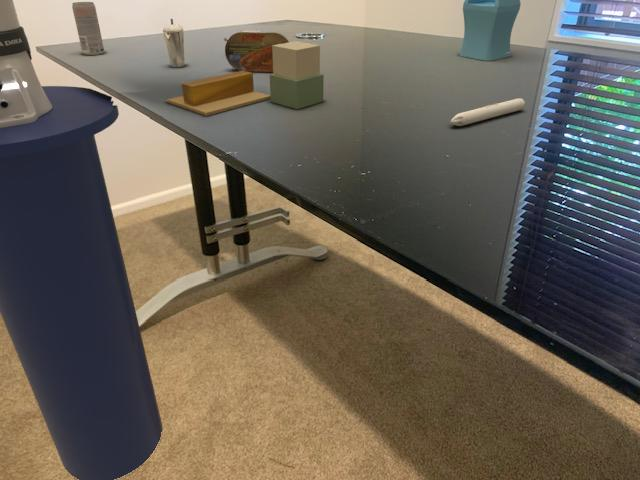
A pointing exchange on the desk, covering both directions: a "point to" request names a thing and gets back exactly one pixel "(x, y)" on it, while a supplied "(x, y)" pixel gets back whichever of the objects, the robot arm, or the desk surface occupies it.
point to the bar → (217, 88)
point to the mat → (221, 103)
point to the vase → (488, 28)
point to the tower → (296, 75)
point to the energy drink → (88, 28)
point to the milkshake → (175, 44)
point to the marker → (488, 112)
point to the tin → (252, 50)
